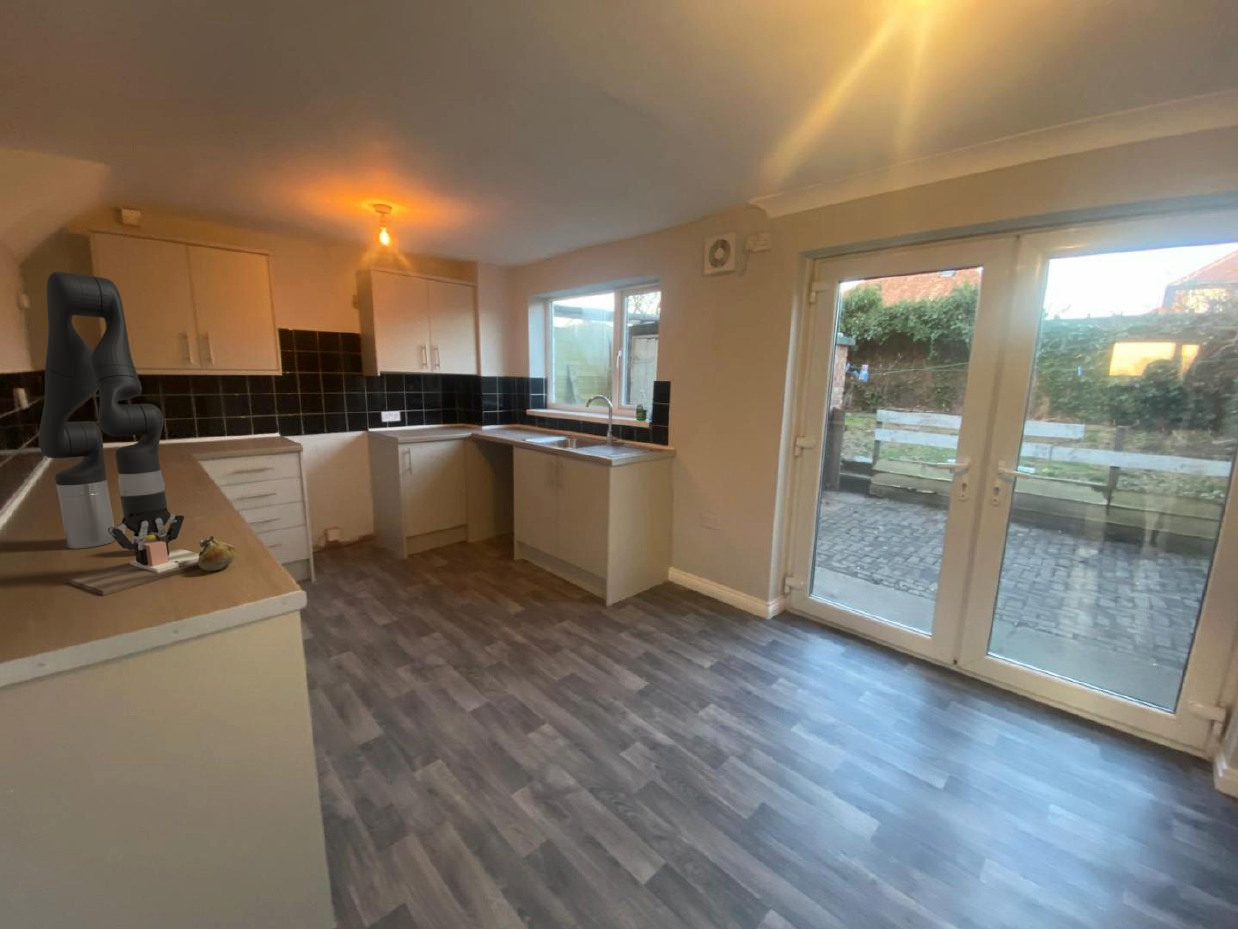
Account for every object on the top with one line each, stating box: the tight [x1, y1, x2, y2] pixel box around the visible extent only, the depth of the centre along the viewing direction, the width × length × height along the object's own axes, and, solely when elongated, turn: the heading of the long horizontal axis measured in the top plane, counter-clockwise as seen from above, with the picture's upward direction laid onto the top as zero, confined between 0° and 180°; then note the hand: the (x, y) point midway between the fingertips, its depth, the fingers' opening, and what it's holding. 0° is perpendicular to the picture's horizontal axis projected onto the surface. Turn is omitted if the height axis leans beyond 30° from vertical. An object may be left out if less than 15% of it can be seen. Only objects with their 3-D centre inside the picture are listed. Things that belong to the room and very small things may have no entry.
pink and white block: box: [129, 539, 179, 573], centre depth 117 cm, size 12×4×6 cm, turn 66°
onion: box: [198, 535, 237, 572], centre depth 117 cm, size 8×8×8 cm
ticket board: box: [66, 548, 201, 596], centre depth 115 cm, size 16×20×2 cm
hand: (153, 561), depth 117 cm, fingers closed on pink and white block, 3 cm apart
